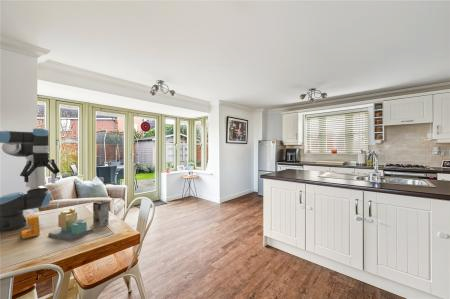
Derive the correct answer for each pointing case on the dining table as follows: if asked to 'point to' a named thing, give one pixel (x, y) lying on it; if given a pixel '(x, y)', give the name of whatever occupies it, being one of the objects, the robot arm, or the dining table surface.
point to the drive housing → (72, 231)
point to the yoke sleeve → (67, 218)
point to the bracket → (35, 227)
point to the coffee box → (100, 213)
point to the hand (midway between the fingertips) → (41, 185)
